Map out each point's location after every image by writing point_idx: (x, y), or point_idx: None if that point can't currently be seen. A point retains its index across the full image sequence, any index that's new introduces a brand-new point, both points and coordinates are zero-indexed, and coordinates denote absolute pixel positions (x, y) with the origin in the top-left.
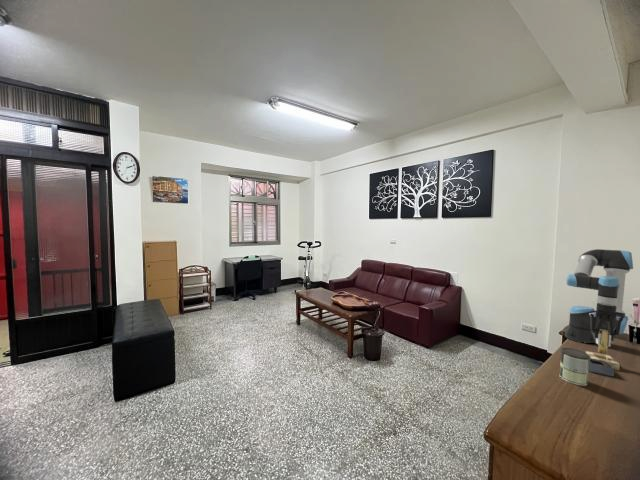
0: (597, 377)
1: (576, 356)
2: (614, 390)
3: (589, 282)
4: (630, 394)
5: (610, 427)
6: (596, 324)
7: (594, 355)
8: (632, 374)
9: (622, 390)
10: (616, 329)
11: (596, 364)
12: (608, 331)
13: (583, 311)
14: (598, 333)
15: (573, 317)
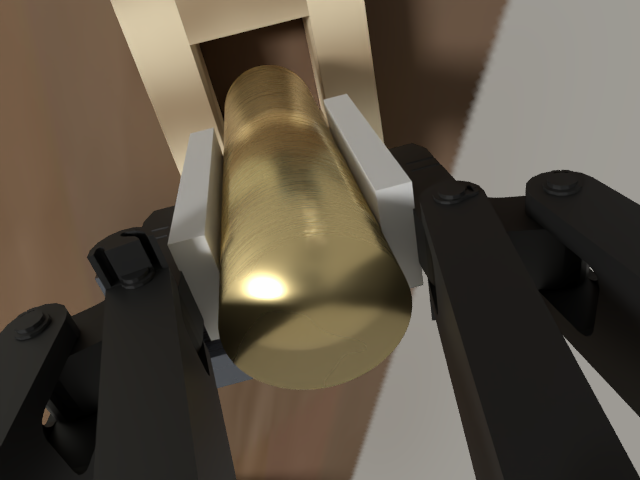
0: (228, 397)
1: None
2: (290, 473)
3: None
4: (346, 459)
5: None
6: (101, 449)
7: (199, 91)
8: (446, 158)
9: (322, 448)
10: (605, 375)
11: (218, 367)
12: (398, 327)
13: None
14: (204, 315)
15: None
